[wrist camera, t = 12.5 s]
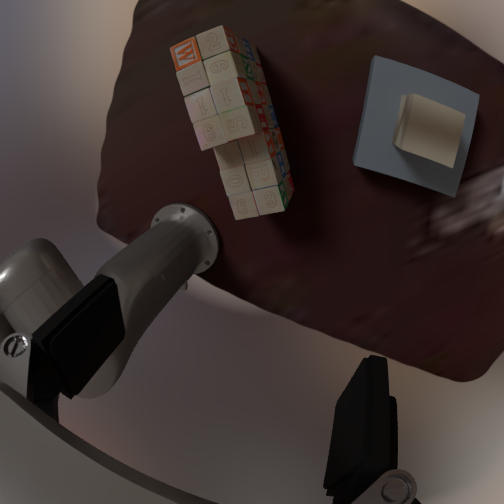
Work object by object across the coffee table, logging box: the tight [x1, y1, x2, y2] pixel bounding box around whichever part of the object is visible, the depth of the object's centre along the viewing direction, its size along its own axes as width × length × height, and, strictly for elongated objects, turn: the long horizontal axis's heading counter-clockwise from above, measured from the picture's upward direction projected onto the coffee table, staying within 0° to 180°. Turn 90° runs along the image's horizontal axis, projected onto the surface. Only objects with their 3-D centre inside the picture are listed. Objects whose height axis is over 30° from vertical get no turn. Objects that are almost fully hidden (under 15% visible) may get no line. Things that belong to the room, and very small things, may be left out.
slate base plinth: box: [353, 55, 479, 198], centre depth 30 cm, size 14×14×4 cm
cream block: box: [392, 94, 465, 168], centre depth 26 cm, size 6×6×6 cm
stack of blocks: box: [170, 25, 295, 220], centre depth 33 cm, size 21×6×12 cm, turn 16°
